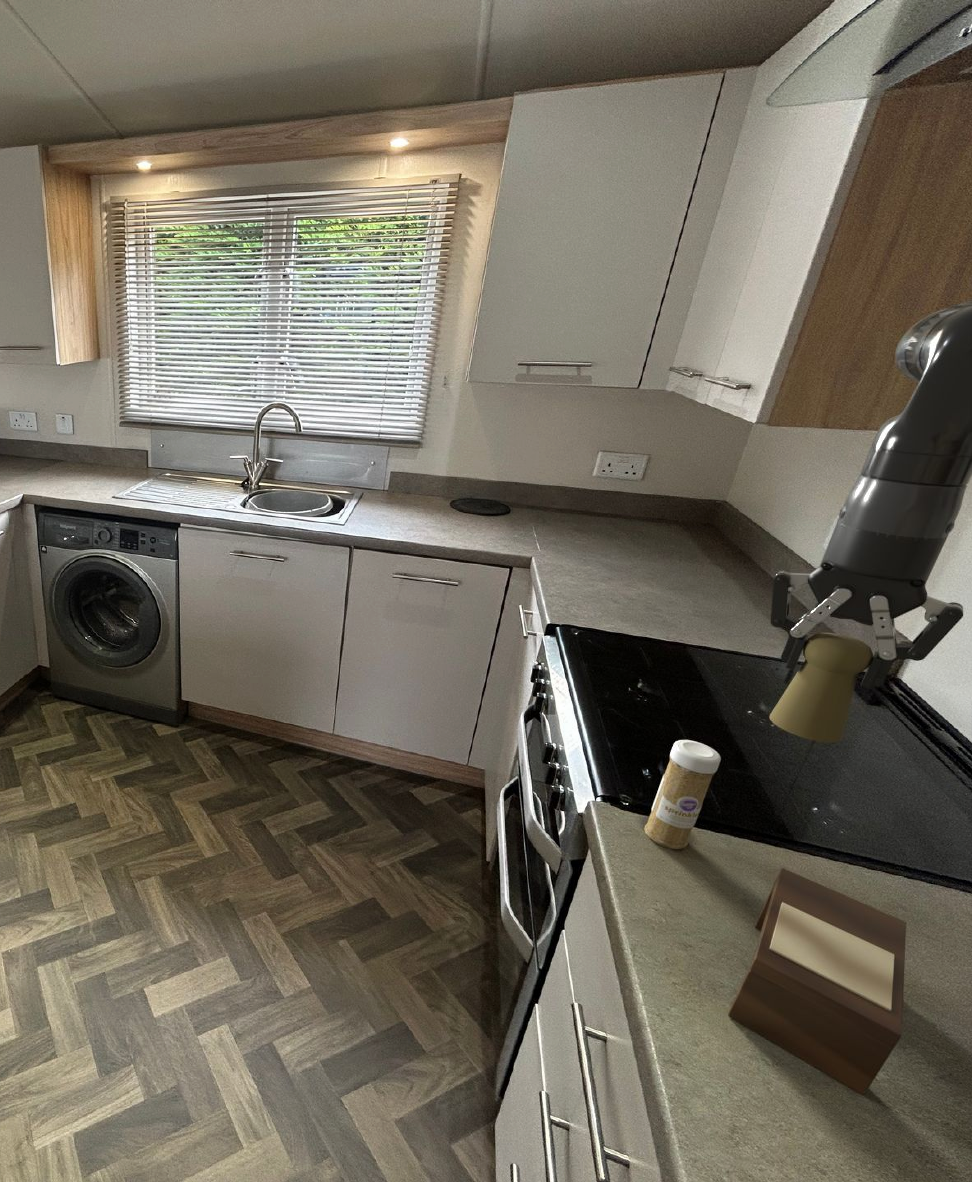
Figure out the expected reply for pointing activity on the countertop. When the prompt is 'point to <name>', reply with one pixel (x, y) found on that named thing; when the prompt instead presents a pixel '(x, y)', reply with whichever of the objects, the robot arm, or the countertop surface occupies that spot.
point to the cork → (822, 688)
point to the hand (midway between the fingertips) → (826, 676)
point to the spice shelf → (825, 980)
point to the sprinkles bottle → (681, 793)
